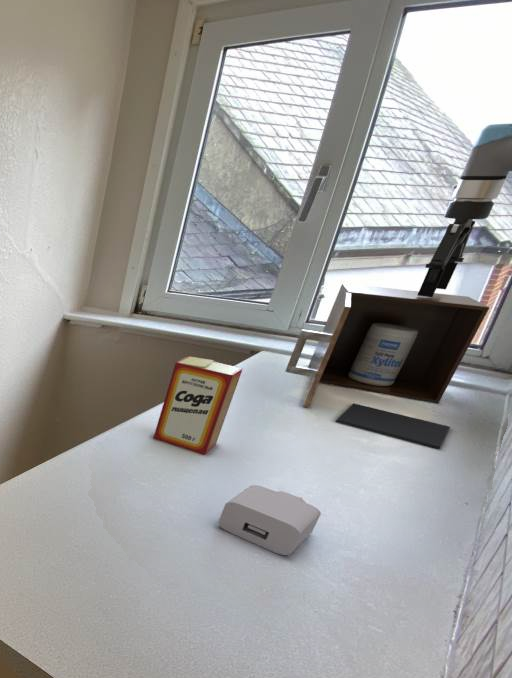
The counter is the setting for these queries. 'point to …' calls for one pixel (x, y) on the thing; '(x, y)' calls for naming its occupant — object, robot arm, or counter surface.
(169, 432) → the baking soda box
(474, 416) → the counter surface
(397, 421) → the mat
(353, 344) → the cupboard
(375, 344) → the supplement tub
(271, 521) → the charger
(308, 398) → the cupboard door
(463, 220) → the robot arm
